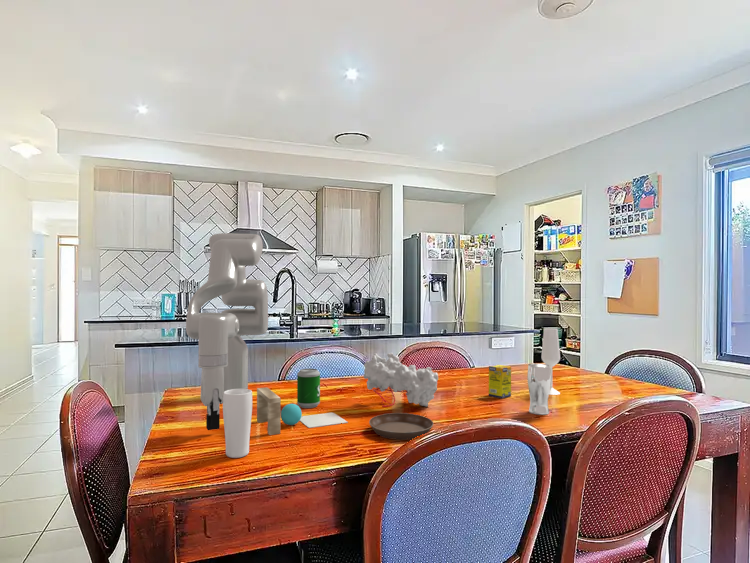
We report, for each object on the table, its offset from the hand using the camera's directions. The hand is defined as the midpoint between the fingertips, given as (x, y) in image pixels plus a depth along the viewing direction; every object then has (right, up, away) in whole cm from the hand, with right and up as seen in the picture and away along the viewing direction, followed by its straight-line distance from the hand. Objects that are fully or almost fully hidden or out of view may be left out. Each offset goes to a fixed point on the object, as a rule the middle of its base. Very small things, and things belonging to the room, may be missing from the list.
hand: (212, 428), depth 130 cm
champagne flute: (+110, -2, +51) cm, 121 cm away
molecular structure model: (+52, -2, +31) cm, 60 cm away
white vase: (+96, -2, +23) cm, 99 cm away
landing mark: (+28, -2, +14) cm, 31 cm away
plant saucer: (+51, -2, +3) cm, 51 cm away
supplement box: (+89, -2, +45) cm, 100 cm away
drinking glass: (+11, -2, -16) cm, 19 cm away
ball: (+20, +1, +9) cm, 22 cm away
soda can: (+22, -2, +31) cm, 38 cm away
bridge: (+13, -2, +7) cm, 15 cm away
